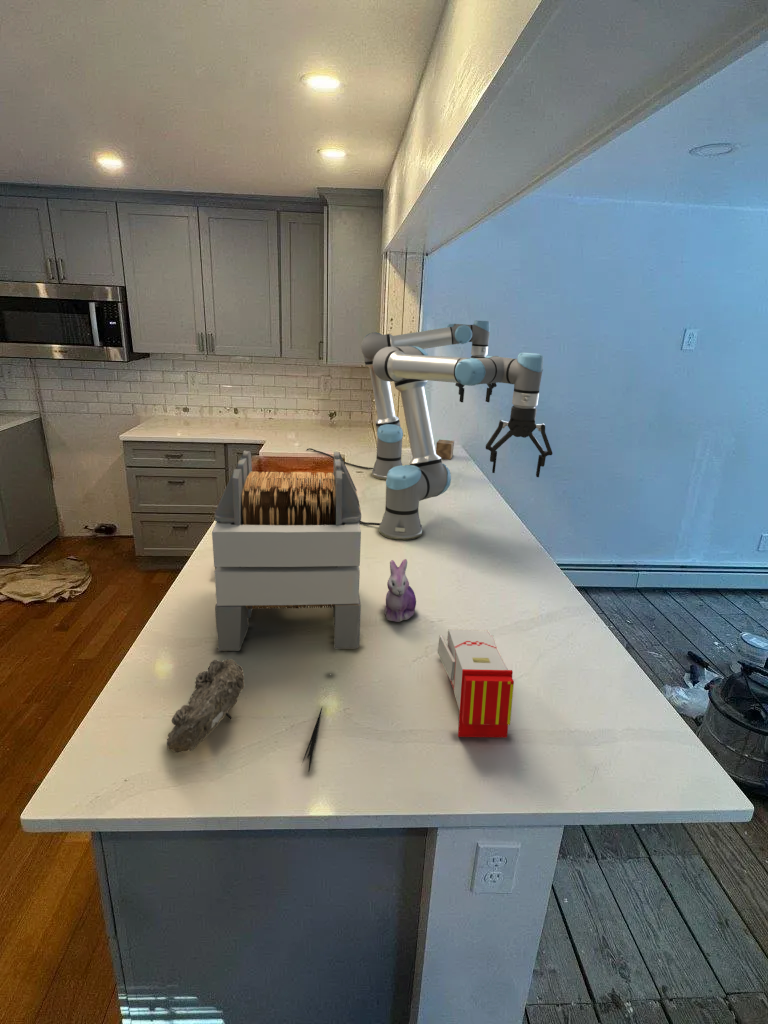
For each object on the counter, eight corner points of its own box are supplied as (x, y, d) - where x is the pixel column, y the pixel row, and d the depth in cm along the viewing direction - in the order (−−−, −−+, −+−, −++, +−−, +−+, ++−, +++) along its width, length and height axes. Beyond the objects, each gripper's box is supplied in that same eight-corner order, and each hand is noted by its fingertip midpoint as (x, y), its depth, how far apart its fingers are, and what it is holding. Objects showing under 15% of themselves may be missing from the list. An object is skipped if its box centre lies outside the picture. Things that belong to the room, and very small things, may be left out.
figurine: (392, 627, 141) (395, 572, 136) (374, 608, 149) (376, 556, 144) (425, 619, 145) (429, 566, 140) (405, 601, 154) (408, 550, 149)
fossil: (192, 660, 117) (244, 628, 112) (224, 691, 120) (276, 661, 115) (142, 746, 98) (202, 712, 93) (182, 779, 101) (242, 748, 96)
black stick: (331, 679, 122) (336, 673, 122) (307, 777, 96) (313, 769, 95) (324, 675, 122) (329, 669, 121) (298, 772, 95) (304, 764, 95)
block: (435, 458, 305) (436, 442, 302) (438, 454, 312) (439, 439, 310) (450, 459, 303) (451, 444, 300) (452, 456, 310) (454, 440, 308)
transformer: (235, 584, 159) (228, 441, 145) (352, 582, 163) (356, 443, 149) (215, 653, 127) (203, 479, 113) (360, 649, 131) (366, 481, 117)
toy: (488, 613, 130) (523, 677, 101) (484, 667, 133) (517, 744, 104) (435, 612, 130) (455, 676, 101) (432, 666, 133) (451, 743, 103)
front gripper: (482, 405, 169) (475, 473, 177) (568, 411, 165) (557, 481, 173) (482, 401, 176) (475, 467, 184) (565, 407, 172) (554, 474, 180)
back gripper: (457, 355, 255) (453, 403, 262) (507, 357, 262) (501, 403, 269) (450, 354, 262) (447, 400, 269) (499, 355, 269) (494, 400, 276)
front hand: (515, 474), depth 178 cm, fingers open, 13 cm apart
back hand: (474, 402), depth 269 cm, fingers open, 13 cm apart
